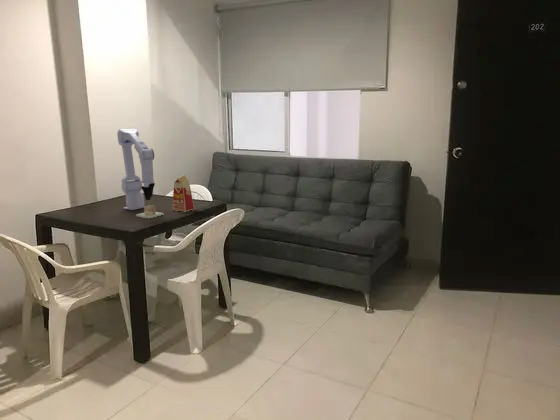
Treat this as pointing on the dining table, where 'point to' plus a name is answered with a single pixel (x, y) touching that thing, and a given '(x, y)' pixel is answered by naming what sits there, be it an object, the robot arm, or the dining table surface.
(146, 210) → the maple block
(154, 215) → the coaster
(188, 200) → the milk carton
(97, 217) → the dining table surface
